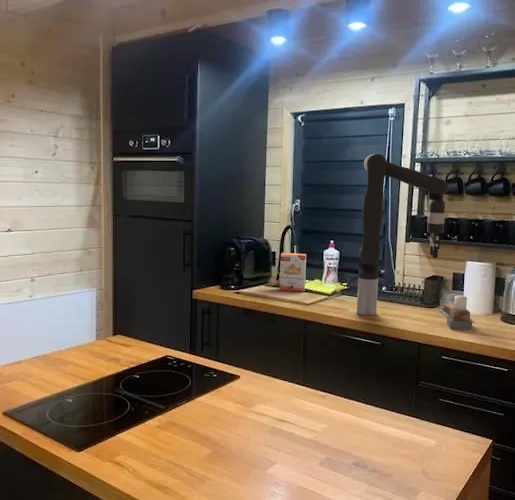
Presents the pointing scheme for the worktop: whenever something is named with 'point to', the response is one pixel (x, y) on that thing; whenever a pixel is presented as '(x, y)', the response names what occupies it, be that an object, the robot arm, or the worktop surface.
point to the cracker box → (292, 272)
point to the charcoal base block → (459, 324)
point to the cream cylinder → (460, 303)
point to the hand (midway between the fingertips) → (433, 256)
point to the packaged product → (447, 309)
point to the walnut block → (459, 315)
